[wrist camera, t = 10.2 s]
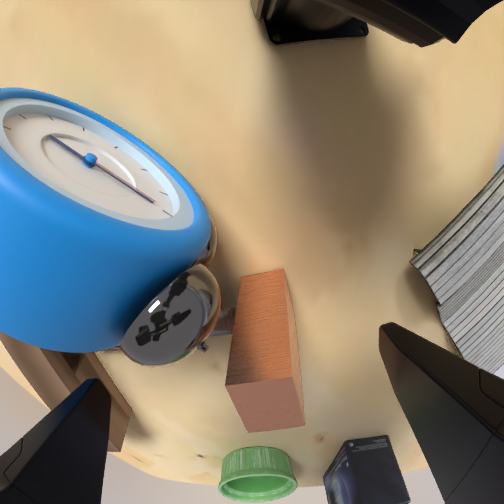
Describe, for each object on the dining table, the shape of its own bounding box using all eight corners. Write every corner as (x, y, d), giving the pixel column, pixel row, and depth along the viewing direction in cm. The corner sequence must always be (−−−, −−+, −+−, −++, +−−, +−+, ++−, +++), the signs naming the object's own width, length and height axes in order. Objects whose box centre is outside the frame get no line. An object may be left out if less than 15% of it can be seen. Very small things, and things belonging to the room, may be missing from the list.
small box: (341, 439, 32) (362, 513, 22) (389, 433, 32) (414, 499, 22) (319, 477, 36) (332, 538, 26) (361, 471, 36) (377, 528, 27)
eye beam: (33, 227, 20) (-9, 256, 15) (131, 409, 28) (120, 451, 23) (2, 239, 20) (-37, 268, 15) (100, 410, 28) (87, 450, 23)
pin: (283, 268, 22) (292, 376, 13) (294, 314, 23) (305, 425, 14) (88, 306, 24) (29, 388, 15) (109, 342, 26) (62, 427, 17)
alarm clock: (57, 83, 16) (236, 203, 21) (19, 161, 17) (184, 270, 23) (-93, 92, 4) (269, 338, 9) (-114, 237, 6) (170, 428, 11)
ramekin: (285, 474, 35) (289, 501, 31) (217, 474, 34) (217, 501, 30) (299, 441, 31) (305, 473, 27) (219, 441, 30) (219, 474, 26)
